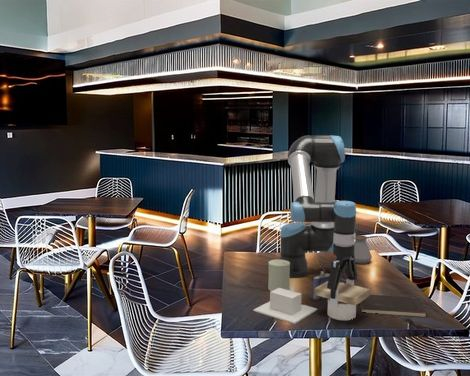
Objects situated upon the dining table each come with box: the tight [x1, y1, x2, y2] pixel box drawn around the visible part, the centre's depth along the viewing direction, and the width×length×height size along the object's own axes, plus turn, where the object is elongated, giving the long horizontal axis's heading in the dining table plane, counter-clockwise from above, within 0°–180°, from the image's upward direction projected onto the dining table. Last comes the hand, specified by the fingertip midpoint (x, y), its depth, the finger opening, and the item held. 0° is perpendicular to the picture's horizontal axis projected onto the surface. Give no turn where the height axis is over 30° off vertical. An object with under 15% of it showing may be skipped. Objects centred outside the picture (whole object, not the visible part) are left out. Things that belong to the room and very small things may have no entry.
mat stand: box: [253, 288, 318, 325], centre depth 177 cm, size 18×16×7 cm
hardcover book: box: [359, 293, 427, 318], centre depth 181 cm, size 16×23×2 cm
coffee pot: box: [353, 235, 373, 265], centre depth 239 cm, size 21×12×15 cm, turn 88°
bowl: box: [327, 298, 357, 321], centre depth 173 cm, size 10×10×6 cm
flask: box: [312, 270, 330, 301], centre depth 190 cm, size 9×3×11 cm, turn 121°
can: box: [267, 259, 291, 292], centre depth 200 cm, size 9×9×12 cm
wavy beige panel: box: [315, 281, 371, 307], centre depth 172 cm, size 16×12×2 cm
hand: (341, 301), depth 173 cm, fingers closed on wavy beige panel, 12 cm apart
